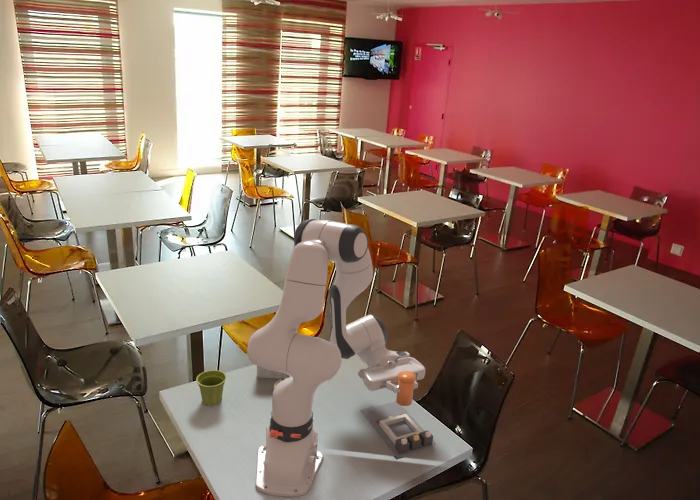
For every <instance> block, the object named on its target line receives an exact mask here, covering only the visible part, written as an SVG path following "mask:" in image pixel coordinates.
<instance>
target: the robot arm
mask: <svg viewBox="0 0 700 500" xmlns="http://www.w3.org/2000/svg"><path fill="white" fill-rule="evenodd" d="M293 239H294V240H293V243H294V248H293V249H292V253H291V256H290V258H289V261H288V266H287V270H286V273H285V279H284V284H283V285H284V286H283V291H282V294H281V298H280V303H279V307H278V310H276V313H275V315H274V316H273V318H272V319H270V321H269V322H268V323H267V324H266V325H263V327H261V328H258V329H257V330H256V331H255V332H254V333H252V335H251V336H250V338H249V340H248V344H247V349H246V351H247V357H248V360H249V361H250V363H252V364H254V365H256V367H257V366H259V367H262V368H264V369H266V370H271V371H276V372H280V373H285V374H287V375H289V377H290V378H287V379H285V380H283V381H281V382H280V383H278V384H277V385H276V387H275V388H274V387H273V390H272V400H271V401H272V402H271V412H270V416H269V424H268V425H267V426H266V427H265V431H266V432H265V433H266V434H265V444H263V445H261V446H260V447H258V450H257V460H256V462H257V463H256V473H255V474H256V476H255V488H256V489H257V490H258V491H260V492H261V493H263V494H267V495H271V496H277V497H287V498H288V497H299V496H303V495H306V494H307V493H308V491H309V490H310V487H311V485H312V483H313V481H314V479H315V477H316V474H317V473H318V470H319V468H320V467H321V464H322V462H323V460H324V454H323V453H322V452H321V451H320V450H318V446H319V445H318V440H319V439H318V438H319V435H318V431H317V430H316V429H315V427H314V413H313V401H314V395H315V392H316V391H317V389H318V388H319V387H320V386H321V385H322V384H324V383H326V382H328V381H330V380H331V379H333V378H334V377H335V376H336V375H337V374H338V373H339V370H340V368H341V365H342V359H343V360H344V359H345V360H349V359H350V358H352V357H354V356H356V355H357V357H358V358H359V359H360V360H361V362H362V363H363V364H364V365H366V366H367V368H362V369H361V368H360V369H359V371H358V372H357V375H358V377H359V378H360V379H361V380H362V381H363V384H364V385H365V388H367V390H368V391H371V392H374V391H379V390H383V389H386V390H389V391H393V392H394V394H397V393H399V392H400V387H399V386H398V379H399V378H398V373H399V372H401V371H410V372H412V373H414V374H415V375H416V380H415V382H414V390H415V389H418V387H419V383H418V382H417V381H420V380H423V379H424V378H425V375H426V367H425V366H424V365H423V364H422V363H421V362H420V361H418V360H417V359H416V358H414V357H412V356H411V355H410V353H409V352H408V351H396V350H389V349H388V348H386V344H387V340H388V331H387V326H386V325H385V324H384V322H383V321H382V320H381V318H379V317H378V316H376V315H374V314H372V313H369V314H368V315H365V316H363V317H360V318H358V319H356V320H355V321H352V322H350V323H348V324H347V317H346V316H347V315H346V313H347V308H348V306H349V305H350V304H351V302H352V301H353V300H355V298H357V297H358V296H359V295H360V294H361V293H362V292H364V291H365V290H366V289H367V288H368V287H369V285H370V284H371V282H372V280H373V277H374V265H373V260H372V257H371V253H370V249H369V240H368V235H367V233H366V232H365V230H364V229H363V227H360V226H358V225H356V224H352V223H350V224H348V223H344V222H339V221H335V220H331V219H329V220H328V219H315V218H313V219H312V218H311V219H305V220H302V221H300V223H299V224H298V225H297V227H296V229H295V231H294V236H293ZM330 261H332V262H334V266H335V270H336V273H335V279H334V282H333V285H331V287H330V289H329V302H328V303H329V319H330V321H329V322H330V323H329V324H330V325H329V326H330V334H329V340H328V339H324V338H321V337H318V336H317V337H316V336H312V335H307V334H301V333H299V332H298V329H299V326H300V325H301V324H303V323H306V322H310V321H312V320H314V319H317V318H318V317H319V316H320V315H321V313H322V311H323V307H324V301H325V297H326V295H325V294H326V288H327V282H328V272H329V270H328V269H329V262H330Z"/></svg>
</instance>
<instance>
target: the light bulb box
mask: <svg viewBox="0 0 700 500" xmlns="http://www.w3.org/2000/svg"><path fill="white" fill-rule="evenodd" d="M286 377H288V374H285V373H280V372H276V371H271V370H266V369H264V368H262V367H259V366H257V365H256V378H264V379H265V378H267V379H277V380H280V379H282V378H286Z"/></svg>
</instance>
